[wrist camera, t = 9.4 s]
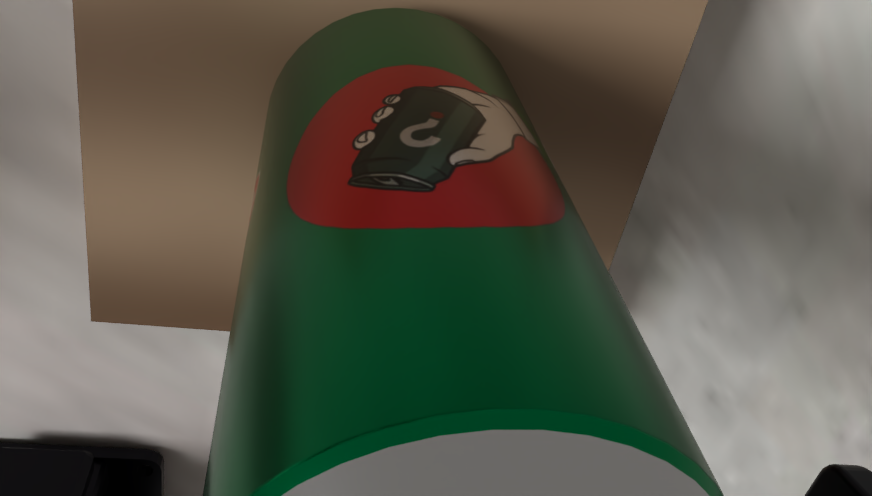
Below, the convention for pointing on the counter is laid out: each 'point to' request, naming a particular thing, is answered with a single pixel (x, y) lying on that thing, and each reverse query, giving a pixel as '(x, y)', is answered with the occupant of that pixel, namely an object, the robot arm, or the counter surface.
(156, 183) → the walnut base
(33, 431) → the counter surface
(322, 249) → the soda can
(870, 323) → the counter surface
